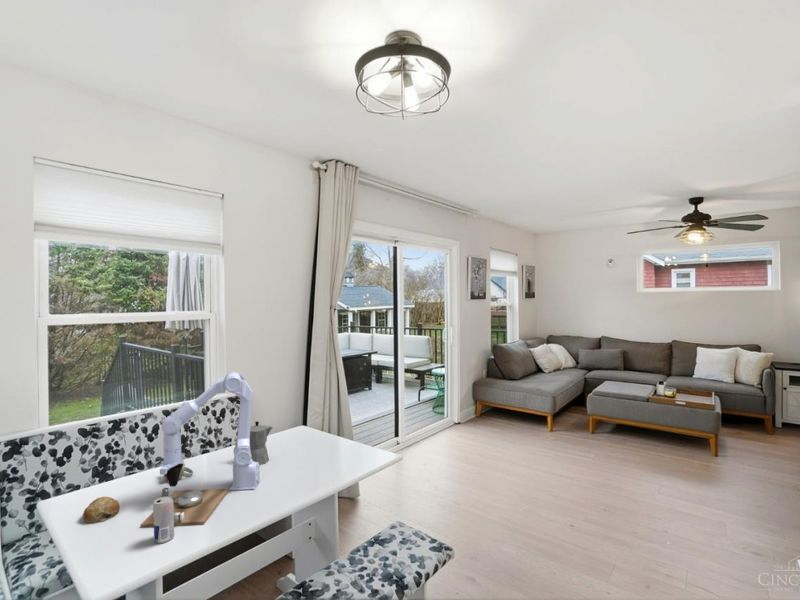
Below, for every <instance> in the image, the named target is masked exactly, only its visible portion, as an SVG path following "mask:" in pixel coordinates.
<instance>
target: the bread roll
mask: <svg viewBox="0 0 800 600" xmlns="http://www.w3.org/2000/svg"><path fill="white" fill-rule="evenodd" d="M120 507H121V506H120V502H119V501H118V500H117V499H115V498H113V497H110V496H101V497H97V498H96V499H94V500H92V501H91V502H90V503H89V505H87V507H86V508H84V511H83V513H82V516H83V518H82V519H83V521H84V522H86V523H91V524H93V523H94V524H96V523H103V522H105V521H108V520H109V519H112V518H113V517H115V516H116V515H118V514H119V512H120Z"/></svg>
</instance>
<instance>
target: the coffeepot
mask: <svg viewBox="0 0 800 600" xmlns="http://www.w3.org/2000/svg"><path fill="white" fill-rule="evenodd" d="M254 423H255V425H252V426H251V427H250V451H251V456H252V457H251V458H252V461H254V462H258V463H259V466H261V465H265V464H266V463H268V462H269V461H270V459H269V453H268V449H267V446H266V445H267V444H266V443H267V441H268V436H269V433H270V432H271V431H272V430H273V427H272V426H267V425H266V424H259V423H260V421H257V420H256V421H255V422H254ZM235 434H236V437H237V436H238V430H237V431H236V433H235Z"/></svg>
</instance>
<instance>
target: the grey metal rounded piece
mask: <svg viewBox="0 0 800 600" xmlns="http://www.w3.org/2000/svg"><path fill="white" fill-rule="evenodd" d="M169 490H170V489H169V487H164V488H162V489H161V497H164V496H170V495H169ZM172 499H173V503H176V502H177V503H178V507H181V508H188V507H193V506H195V505H198V504H199V503H201V502H202V500H203V493H202V492H200V491H191V492H187V493H184V494H182V495H180V496H179V497H172Z"/></svg>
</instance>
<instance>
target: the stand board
mask: <svg viewBox="0 0 800 600" xmlns="http://www.w3.org/2000/svg"><path fill="white" fill-rule="evenodd" d="M191 491H200V492H202V493H203V500H202V502H201V503H199V504H198V505H195V506H193V507H188V508H181V507H178V503H177V502H176V503H173V512H174V527H178V526H179V527H180V526H181V527H183V526H198V525H199V526H201V525H205V523H207V521H208V520H209V519H210V517H211V516H212V515H213V513H214V511H216V510H217V507H218V506H219V505H221V503H222V502H223V500H224V498H225V497H226V496H227V495H228V493H229V492H230V488H226V487H225V488H209V489H208V488H207V489H204V488H203V489H185V490H184V489H182V490H174V491H173V492H172V493H171V494H170V495H169V496H171V497H179V496H180V495H182V494H184V493H187V492H191ZM140 528H141V529H142V528H154V518H153V512H151V514H150V515H149V516H148V517H147V518H146V519H145V520H143V521H142V522H141V523H140Z"/></svg>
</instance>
